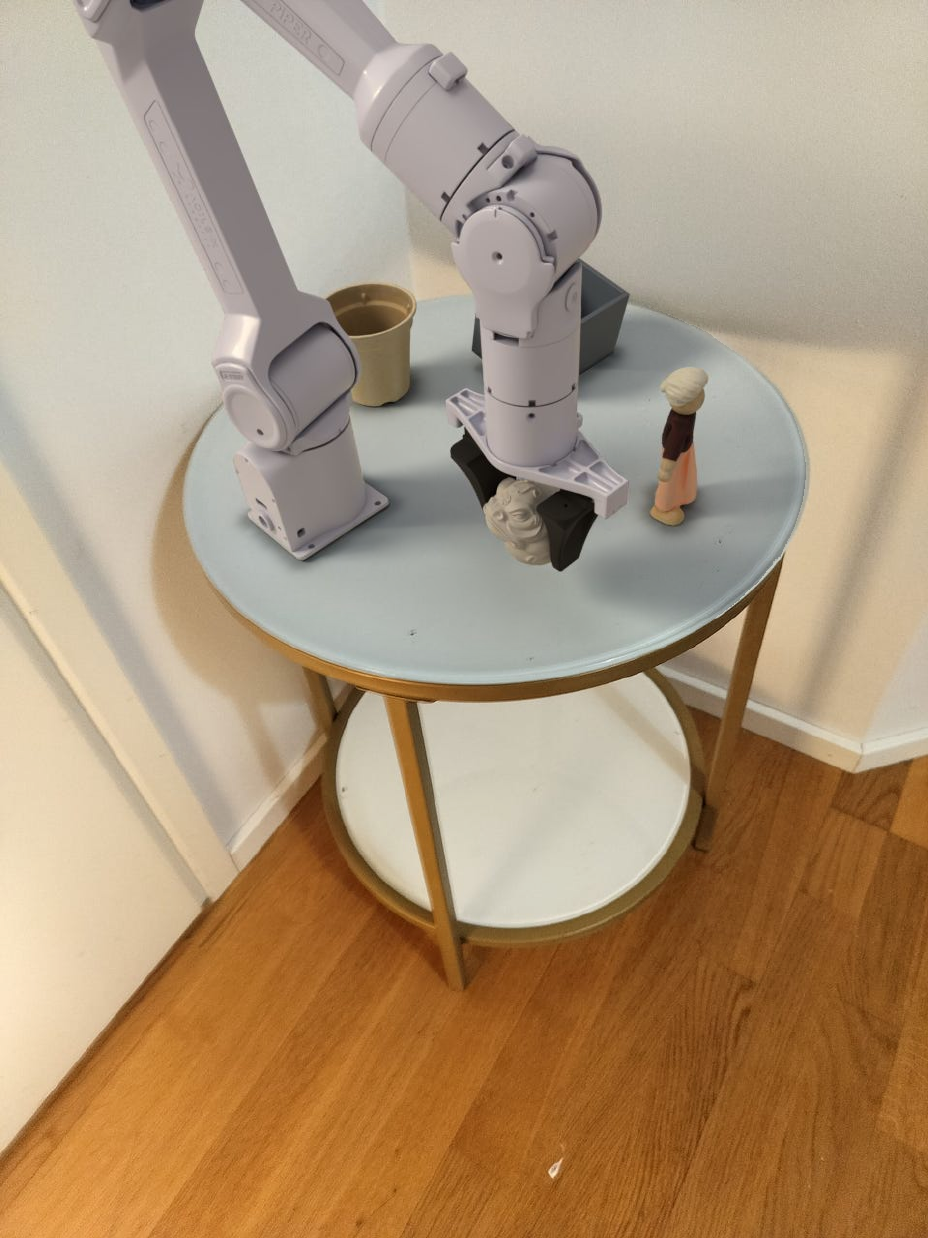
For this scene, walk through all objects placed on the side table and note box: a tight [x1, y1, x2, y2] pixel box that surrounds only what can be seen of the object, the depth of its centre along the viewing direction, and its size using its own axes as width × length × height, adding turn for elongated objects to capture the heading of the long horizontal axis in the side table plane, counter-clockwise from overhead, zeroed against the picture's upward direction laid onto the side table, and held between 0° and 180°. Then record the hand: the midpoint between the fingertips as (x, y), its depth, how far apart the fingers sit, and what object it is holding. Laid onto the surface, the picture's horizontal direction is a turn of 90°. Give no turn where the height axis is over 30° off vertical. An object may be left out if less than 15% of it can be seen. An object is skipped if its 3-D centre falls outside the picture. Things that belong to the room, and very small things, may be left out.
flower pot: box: [322, 281, 418, 407], centre depth 82 cm, size 9×9×9 cm
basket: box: [471, 257, 631, 376], centre depth 83 cm, size 11×12×7 cm
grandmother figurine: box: [649, 366, 709, 527], centre depth 66 cm, size 8×4×13 cm, turn 171°
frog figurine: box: [482, 477, 560, 566], centre depth 61 cm, size 6×7×7 cm
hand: (533, 540), depth 62 cm, fingers closed on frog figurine, 6 cm apart
